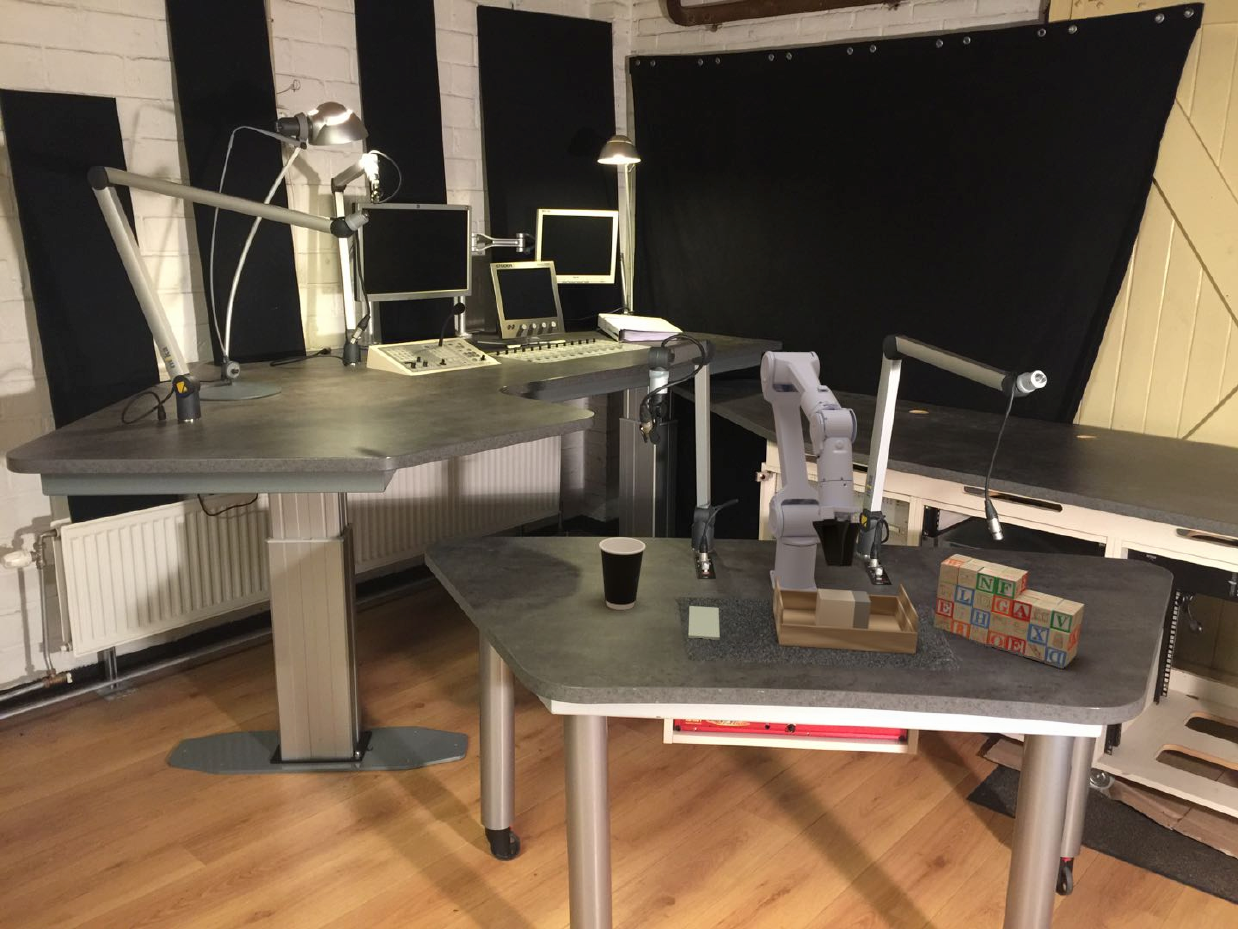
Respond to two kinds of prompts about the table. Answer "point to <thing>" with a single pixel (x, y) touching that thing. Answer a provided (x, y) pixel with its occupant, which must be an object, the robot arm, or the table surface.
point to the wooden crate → (885, 633)
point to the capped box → (842, 608)
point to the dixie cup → (621, 570)
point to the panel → (704, 622)
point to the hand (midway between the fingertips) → (839, 566)
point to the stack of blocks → (1005, 610)
